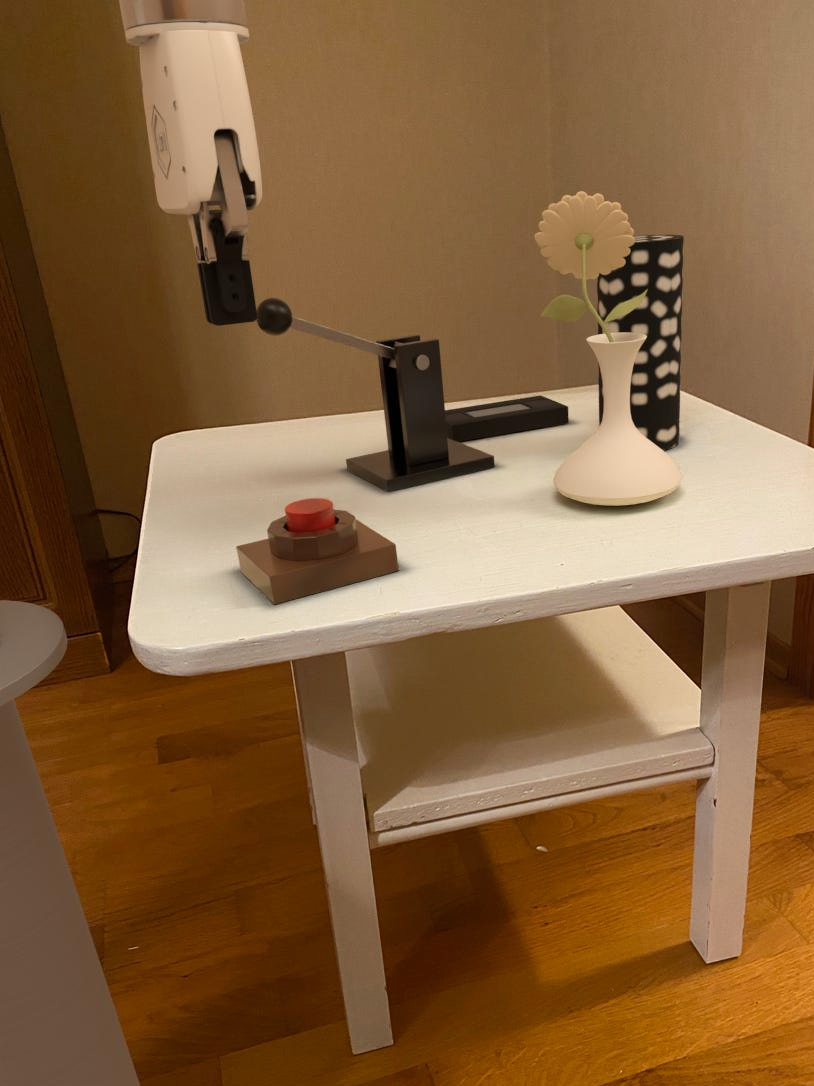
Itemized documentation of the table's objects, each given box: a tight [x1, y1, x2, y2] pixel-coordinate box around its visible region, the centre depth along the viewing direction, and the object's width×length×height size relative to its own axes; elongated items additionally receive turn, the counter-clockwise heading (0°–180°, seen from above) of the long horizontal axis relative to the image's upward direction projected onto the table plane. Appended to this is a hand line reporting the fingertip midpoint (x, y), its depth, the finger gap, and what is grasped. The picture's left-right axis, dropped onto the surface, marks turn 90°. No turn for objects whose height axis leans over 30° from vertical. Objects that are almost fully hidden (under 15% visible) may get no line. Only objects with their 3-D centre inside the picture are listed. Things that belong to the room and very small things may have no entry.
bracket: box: [345, 334, 496, 493], centre depth 95 cm, size 12×10×13 cm
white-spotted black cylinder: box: [596, 234, 685, 452], centre depth 97 cm, size 8×8×20 cm
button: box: [284, 497, 336, 533], centre depth 72 cm, size 4×4×2 cm
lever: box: [255, 297, 403, 368], centre depth 89 cm, size 17×3×3 cm, turn 120°
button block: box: [235, 508, 399, 605], centre depth 74 cm, size 10×8×4 cm
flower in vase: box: [534, 190, 684, 507], centre depth 81 cm, size 13×11×25 cm
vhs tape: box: [445, 395, 570, 443], centre depth 111 cm, size 8×14×2 cm, turn 112°
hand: (232, 322), depth 67 cm, fingers closed
